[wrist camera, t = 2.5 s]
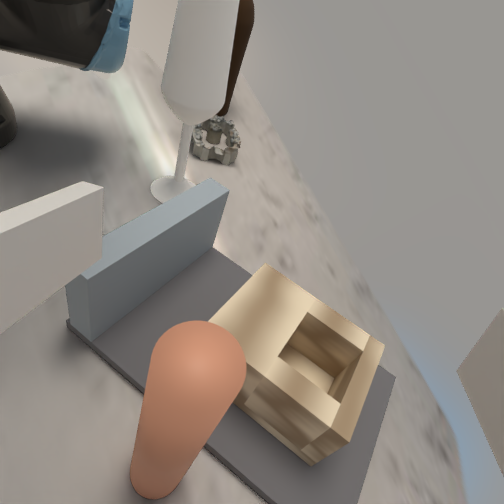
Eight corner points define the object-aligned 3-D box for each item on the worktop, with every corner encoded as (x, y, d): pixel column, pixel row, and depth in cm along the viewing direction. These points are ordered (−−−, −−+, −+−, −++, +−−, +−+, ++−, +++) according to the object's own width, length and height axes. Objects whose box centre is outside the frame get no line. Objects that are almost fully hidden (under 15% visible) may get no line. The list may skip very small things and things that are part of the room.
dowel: (138, 510, 22) (169, 430, 11) (123, 452, 24) (138, 334, 13) (191, 482, 24) (262, 389, 13) (173, 430, 26) (223, 311, 15)
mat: (390, 381, 34) (395, 377, 34) (333, 559, 23) (340, 558, 22) (191, 239, 40) (192, 233, 39) (67, 326, 29) (66, 320, 28)
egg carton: (235, 170, 54) (242, 147, 51) (187, 159, 52) (191, 134, 49) (233, 136, 61) (240, 114, 58) (191, 125, 59) (195, 102, 56)
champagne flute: (144, 200, 42) (168, -48, 26) (156, 170, 47) (183, -54, 31) (198, 213, 43) (253, -16, 27) (204, 183, 48) (255, -26, 32)
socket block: (349, 377, 32) (385, 345, 28) (310, 466, 26) (349, 442, 22) (246, 301, 34) (265, 262, 30) (188, 366, 28) (201, 327, 24)
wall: (212, 247, 39) (229, 190, 33) (91, 342, 27) (87, 279, 22) (195, 235, 39) (210, 177, 34) (70, 324, 28) (61, 258, 22)
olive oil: (208, 90, 71) (240, -68, 54) (241, 116, 67) (287, -46, 50) (164, 92, 64) (184, -88, 47) (198, 121, 60) (233, -64, 43)
